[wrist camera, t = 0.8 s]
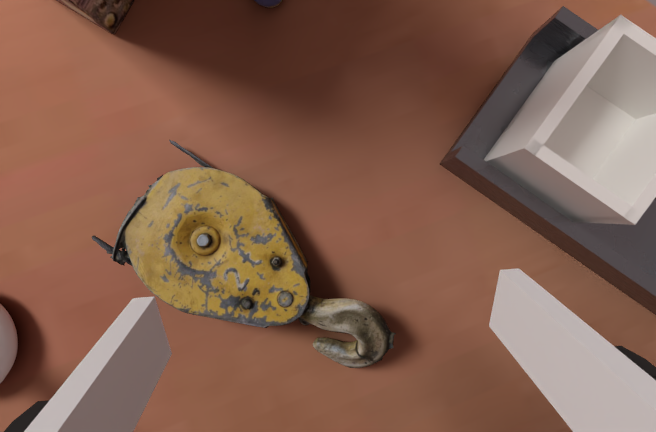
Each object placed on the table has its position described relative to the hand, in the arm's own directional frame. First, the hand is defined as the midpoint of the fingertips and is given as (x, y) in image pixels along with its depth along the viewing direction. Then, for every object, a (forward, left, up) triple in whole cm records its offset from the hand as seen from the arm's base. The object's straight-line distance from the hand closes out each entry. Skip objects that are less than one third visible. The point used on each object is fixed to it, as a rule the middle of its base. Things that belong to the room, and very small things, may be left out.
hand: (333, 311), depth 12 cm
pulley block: (+2, +8, -21) cm, 22 cm away
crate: (-2, -24, -19) cm, 31 cm away
